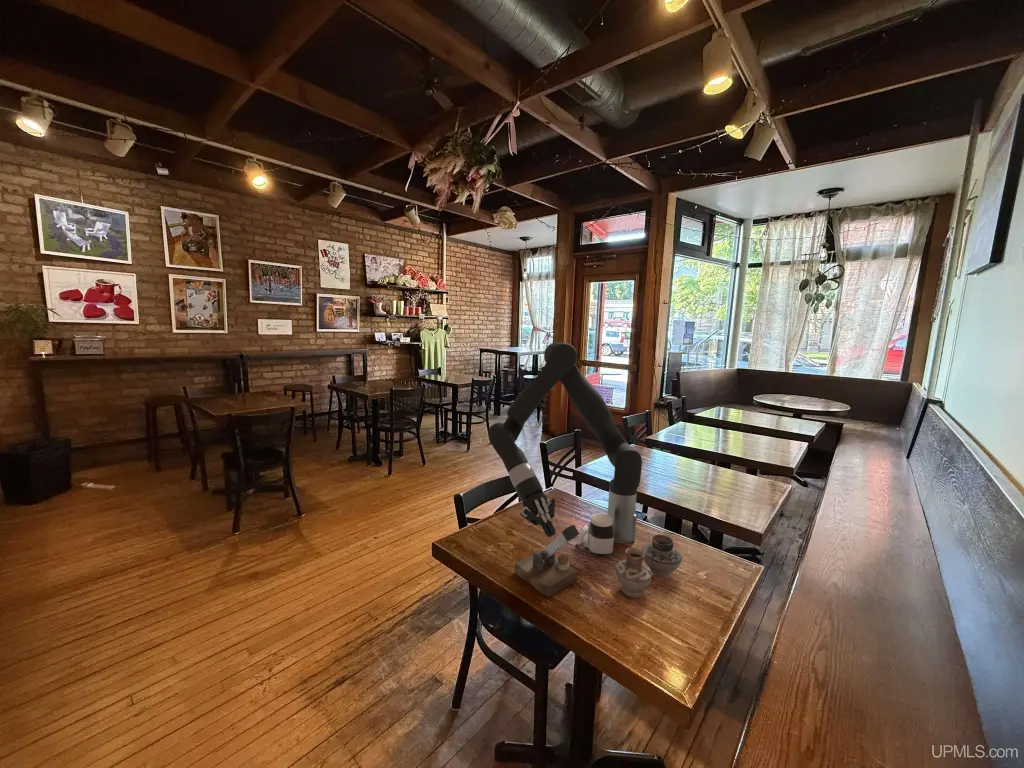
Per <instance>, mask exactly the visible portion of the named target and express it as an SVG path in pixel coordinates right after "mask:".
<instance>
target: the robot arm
mask: <svg viewBox="0 0 1024 768" xmlns="http://www.w3.org/2000/svg"><path fill="white" fill-rule="evenodd" d="M543 358H544V362H545V364H544V366H543V367H542V369H541V370H540V371H539V373H537V376H535V378H534V379H533V380H532V381H531V382H530V383H529V384H528V385H527V386H526V387H525V388H524V389H522V391H521V392H520V393H519V394H518V395H517V396H516V398H515V399H514V401H513V402H512V403H511V404H510V406H509V407H508V408H507V411H506V414H507V415H506V416H507V417H506V419H505V422H504V423H503V422H502V423H501V422H496V423H493V424H492V425H491V426H489V428H488V432H487V433H488V434H487V436H488V439H489V443H490V445H491V446H492V448H493V449H494V451H495V452H496V453H497V455H498V457H499V458H500V460H502V463H503V465H504V467H505V469H506V471H507V473H508V475H509V478H510V482H511V483H512V486H513V487H514V490H515V492H516V494H517V496H518V498H519V499H520V501H522V506H523V510H522V511H521V512H520V516H521V517H523V518H524V519H525V520H527V521H528V522H529V523H531V524H532V525H534V526H541V528H542V530H543V532H544V534H545V535H546V537H548V538H551V537H553V536H554V535H556V532H557V531H556V527H555V526H554V524H553V522H552V520H553V519H554V517H555V512H556V499H555V498H552V499H550V498H548V497H547V495H546V494H545V493H544V491H543V490H544V488H543V486H542V484H541V482H540V480H539V479H538V476H537V474H536V473H535V471H534V469H533V468H532V466H531V464H530V463H529V461H528V459H527V456H526V455H525V454H524V452H523V450H522V449H521V448H520V447H519V446H518V445H517V444H516V441H517V440H518V438H519V436H520V434H521V433H522V430H523V429H524V425H525V424H526V422H527V421H528V419H530V418H531V417H532V416H531V415H532V414H533V413H534V412H535V411H536V409H537V408H538V406H539V405H540V403H541V402H542V401H543V400H544V399H545V397H546V396H547V395H548V394H549V392H550V391H551V390H552V389H553V387H554V386H555V385H556V384H557V383H558V382H559V381H560V383H561V384H562V386H563V387H564V389H565V391H566V392H567V395H568V397H569V398H570V401H571V402H572V404H573V405H574V407H575V408H576V410H577V412H578V413H579V415H580V417H581V418H582V420H583V421H584V422H585V424H586V426H587V427H588V429H590V431H591V432H592V433H593V434H594V435H595V437H596V438H597V439H598V441H599V443H600V444H601V446H602V448H603V450H604V452H605V454H606V457H607V458H608V460H609V462H610V464H611V465H612V466H613V467H614V471H613V472H614V473H613V475H614V476H613V478H612V479H611V480H610V481H609V486H608V487H609V488H608V503H607V515H609V516H611V517H612V526H613V531H614V542H613V543H618V544H628V543H629V544H630V543H635V541H636V526H637V513H636V508H637V506H636V505H637V494H638V493H637V492H638V489H639V487H640V484H641V478H642V477H641V475H642V469H643V460H642V459H643V458H642V455H641V453H639V451H638V450H637V449H636V448H634V447H633V446H631V445H630V444H629V443H628V442H627V440H626V439H625V438H624V436H623V435H622V434H621V432H620V431H619V430H618V428H617V426H616V424H615V421H614V418H613V417H614V416H613V415H612V412H611V410H610V407H609V406H608V404H607V403H606V401H605V400H604V398H603V397H602V395H601V394H600V392H599V390H597V389H596V388H595V387H594V385H592V383H590V381H589V380H588V379H587V378H586V377H585V376H584V374H583V373H582V372H581V371H580V369H579V367H578V366H577V364H576V363H577V361H578V352H577V349H576V348H575V347H574V346H573V345H572V344H570V343H567V342H563V341H561V342H560V341H555V342H552V343H550V344H548V345H547V346H546V348H545V350H544V353H543Z"/></svg>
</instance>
